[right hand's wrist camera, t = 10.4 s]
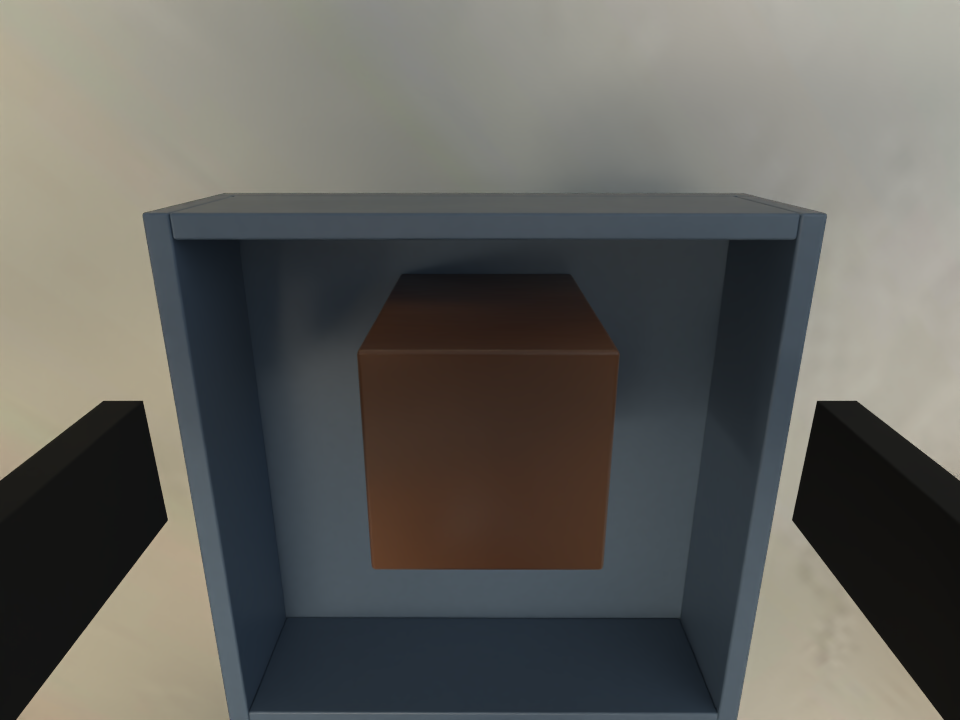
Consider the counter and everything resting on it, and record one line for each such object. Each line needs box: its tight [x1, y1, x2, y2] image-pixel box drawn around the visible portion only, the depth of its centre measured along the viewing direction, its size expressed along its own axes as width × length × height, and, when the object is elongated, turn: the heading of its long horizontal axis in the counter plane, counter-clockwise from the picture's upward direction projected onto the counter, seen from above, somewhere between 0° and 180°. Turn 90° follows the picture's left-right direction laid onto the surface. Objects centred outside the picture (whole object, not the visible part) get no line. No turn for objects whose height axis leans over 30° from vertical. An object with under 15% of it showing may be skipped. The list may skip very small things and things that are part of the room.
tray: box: [143, 193, 827, 720], centre depth 19 cm, size 15×25×9 cm, turn 0°
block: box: [357, 274, 620, 570], centre depth 16 cm, size 5×5×7 cm
